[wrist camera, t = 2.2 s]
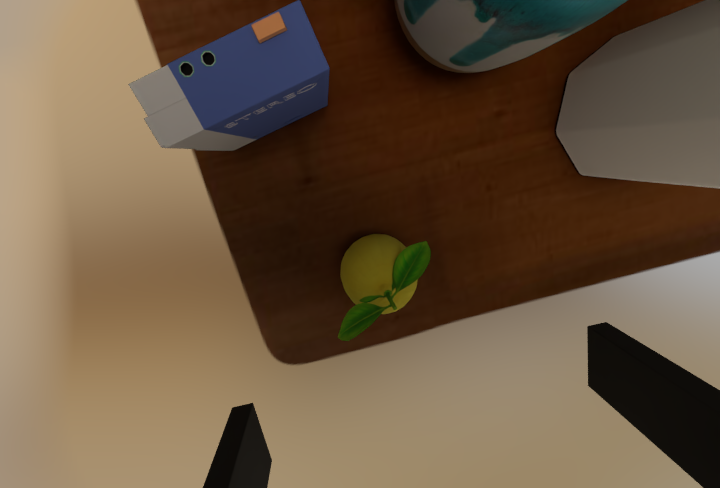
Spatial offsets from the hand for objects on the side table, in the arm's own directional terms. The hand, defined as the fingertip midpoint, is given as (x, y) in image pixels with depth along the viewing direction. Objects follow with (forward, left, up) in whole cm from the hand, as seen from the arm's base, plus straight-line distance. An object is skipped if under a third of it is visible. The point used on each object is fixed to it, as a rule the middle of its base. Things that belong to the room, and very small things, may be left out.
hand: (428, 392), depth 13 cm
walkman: (-5, +13, -17) cm, 22 cm away
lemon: (0, 0, -17) cm, 17 cm away
